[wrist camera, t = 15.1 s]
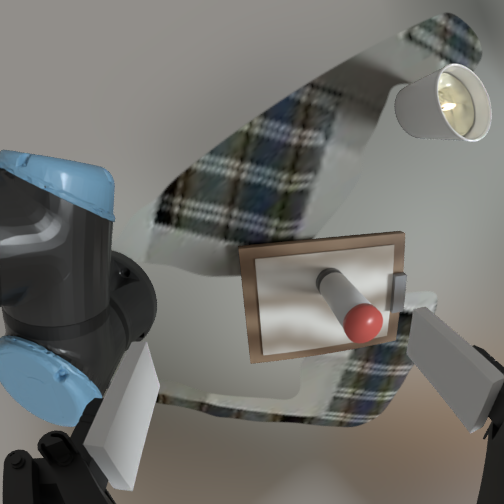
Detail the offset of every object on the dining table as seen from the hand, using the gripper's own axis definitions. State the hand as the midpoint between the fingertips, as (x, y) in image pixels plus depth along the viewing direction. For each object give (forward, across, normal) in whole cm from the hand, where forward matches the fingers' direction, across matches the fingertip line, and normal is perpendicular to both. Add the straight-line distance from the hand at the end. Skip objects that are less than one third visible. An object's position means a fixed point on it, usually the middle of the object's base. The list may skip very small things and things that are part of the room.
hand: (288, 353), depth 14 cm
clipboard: (+29, +10, -11) cm, 32 cm away
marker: (+27, +10, -8) cm, 30 cm away
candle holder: (+29, +26, +16) cm, 42 cm away
